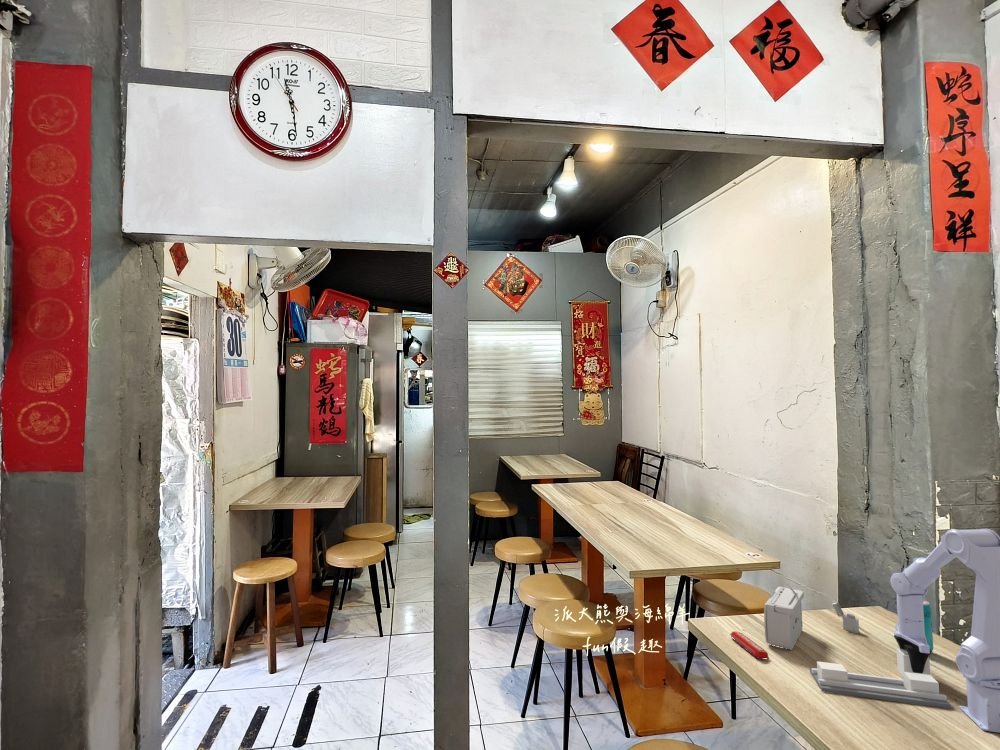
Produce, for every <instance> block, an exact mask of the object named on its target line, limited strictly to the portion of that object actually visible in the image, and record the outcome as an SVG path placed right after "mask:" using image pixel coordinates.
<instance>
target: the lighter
mask: <svg viewBox="0 0 1000 750" xmlns="http://www.w3.org/2000/svg"><path fill="white" fill-rule="evenodd" d="M831 605H832V607H833V609H834V612H835V613H836V614H837V617H842V629H843V630H845V631H847V632H852V633H854V634H859V633H860V622H859V618H857V617H856V616H855V615H854V614H852V613H849V612H848V613H846V614H844V613H845V612H844V611H843V608H842V607H841V605H840V604H839V601H835V602H832V603H831Z"/></svg>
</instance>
